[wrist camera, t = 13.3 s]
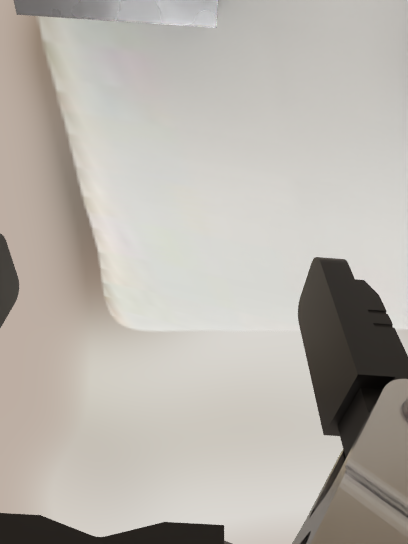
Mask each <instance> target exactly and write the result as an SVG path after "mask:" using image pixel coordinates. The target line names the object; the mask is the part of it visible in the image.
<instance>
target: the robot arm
mask: <svg viewBox="0 0 408 544" xmlns="http://www.w3.org/2000/svg"><path fill="white" fill-rule="evenodd" d="M18 292H19V280H18V276H17V273H16V270H15V267H14V264H13V261H12V258H11V255H10V252H9V249H8V245H7V242H6V240H5V238H4V236H3V235H2V234H0V328H1V326H2V324H3V323H4V321H5V319H6V317H7V316H8V314H9V312H10V310H11V309H12V307H13V305H14V303H15V302H16V299H17V296H18ZM298 320H299V325H300V330H301V334H302V339H303V343H304V347H305V352H306V357H307V361H308V366H309V370H310V375H311V379H312V384H313V388H314V393H315V398H316V402H317V407H318V411H319V416H320V420H321V425H322V429H323V433H324V435H333V436H340V437H341V441H342V445H343V451H342V452H341V454H340V455H339V457H338V459H337V461H336V463H335V465H334V467H333V469H332V471H331V473H330V475H329V477H328V478H327V480H326V482H325V484H324V486H323V488H322V490H321V492H320V494H319V496H318V498H317V500H316V501H315V503H314V505H313V507H312V509H311V511H310V513H309V515H308V517H307V519H306V521H305V522H304V524H303V526H302V528H301V530H300V531H299V533H298V534H297V536H296V538H295V540H294V541H293V543H292V544H408V356H407V354H406V352H405V349H404V347H403V345H402V343H401V341H400V339H399V337H398V335H397V332H396V330H395V328H393V327H392V325H393V324H392V322H391V320H390V318H389V316H388V314H386V309H385V307H384V305H383V303H382V301H381V299H380V297H379V295H378V294H377V293H376V292H375V291H374V290H373V289H372V288H371V287H370V286H369V285H368V284H367V283H366V282H365V281H364V280H355V279H354V276H353V274H352V272H351V269H350V267H349V265H348V263H347V261H346V260H345V259H333V258H320V257H316V258H314V259H313V261H312V263H311V266H310V269H309V272H308V276H307V279H306V282H305V285H304V288H303V291H302V294H301V297H300V301H299V306H298ZM0 544H232V543H229V542H226V541H224V525H208V524H189V523H171V522H163V523H159V524H155V525H151V526H147V527H143V528H139V529H135V530H131V531H127V532H122V533H118V534H114V535H110V536H106V537H95V536H91V535H89V534H86V533H84V532H81V531H79V530H76V529H74V528H71V527H68V526H66V525H64V524H61V523H58V522H56V521H53V520H51V519H48V518H46V517H43V516H41V515H25V514H7V513H0Z"/></svg>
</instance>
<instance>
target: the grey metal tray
mask: <svg viewBox="0 0 408 544" xmlns="http://www.w3.org/2000/svg"><path fill="white" fill-rule="evenodd" d="M14 3H15V8H16V13H17V15H32V16H47V17H62V18H77V19H92V20H107V21H122V22H136V23H151V24H166V25H181V26H196V27H211V28H217V12H218V0H14Z"/></svg>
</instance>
